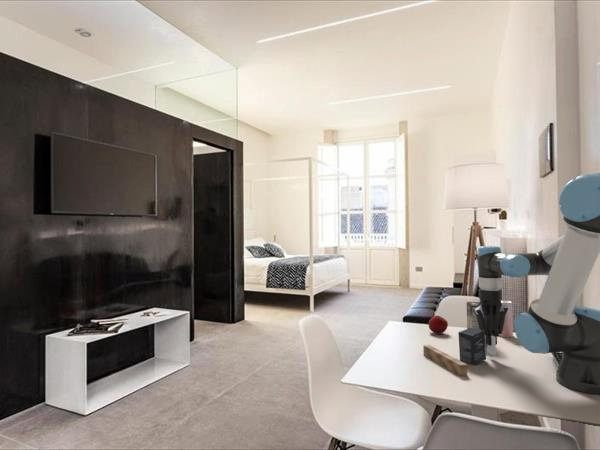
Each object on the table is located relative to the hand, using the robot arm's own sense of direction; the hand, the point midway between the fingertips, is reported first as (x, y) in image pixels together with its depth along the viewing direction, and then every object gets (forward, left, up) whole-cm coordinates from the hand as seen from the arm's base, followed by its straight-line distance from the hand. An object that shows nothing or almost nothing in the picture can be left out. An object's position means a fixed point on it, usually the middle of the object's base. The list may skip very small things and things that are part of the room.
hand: (491, 353), depth 138 cm
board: (-1, +20, -2) cm, 20 cm away
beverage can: (+24, -27, -2) cm, 36 cm away
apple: (+35, -1, -2) cm, 36 cm away
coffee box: (+19, -9, -2) cm, 22 cm away
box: (0, +8, -2) cm, 8 cm away
